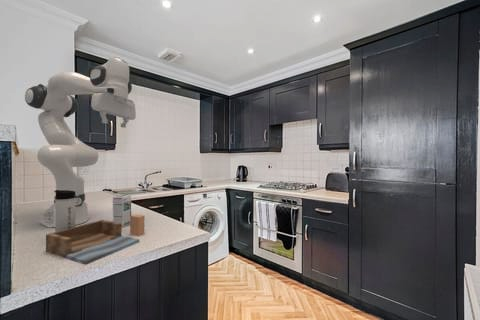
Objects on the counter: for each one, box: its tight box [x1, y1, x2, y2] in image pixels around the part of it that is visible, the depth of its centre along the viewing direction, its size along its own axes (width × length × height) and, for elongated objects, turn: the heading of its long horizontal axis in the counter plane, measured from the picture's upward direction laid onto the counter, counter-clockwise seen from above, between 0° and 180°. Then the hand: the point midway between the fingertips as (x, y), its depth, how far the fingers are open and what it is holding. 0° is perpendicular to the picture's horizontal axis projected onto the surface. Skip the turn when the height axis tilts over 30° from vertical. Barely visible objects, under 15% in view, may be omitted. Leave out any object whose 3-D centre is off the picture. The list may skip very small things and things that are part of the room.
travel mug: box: [53, 189, 76, 232], centre depth 87 cm, size 6×7×20 cm
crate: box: [45, 219, 140, 265], centre depth 81 cm, size 22×20×6 cm
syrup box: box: [112, 194, 132, 228], centre depth 107 cm, size 6×6×14 cm
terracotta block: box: [129, 214, 145, 237], centre depth 94 cm, size 5×3×8 cm, turn 66°
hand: (114, 125), depth 97 cm, fingers open, 8 cm apart
